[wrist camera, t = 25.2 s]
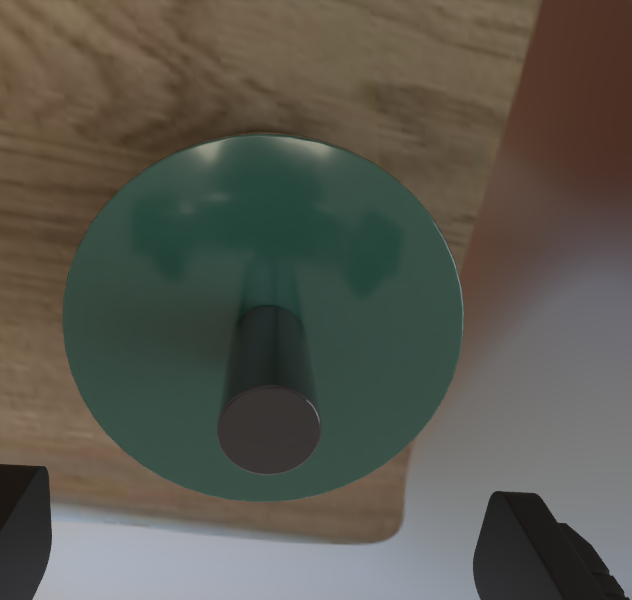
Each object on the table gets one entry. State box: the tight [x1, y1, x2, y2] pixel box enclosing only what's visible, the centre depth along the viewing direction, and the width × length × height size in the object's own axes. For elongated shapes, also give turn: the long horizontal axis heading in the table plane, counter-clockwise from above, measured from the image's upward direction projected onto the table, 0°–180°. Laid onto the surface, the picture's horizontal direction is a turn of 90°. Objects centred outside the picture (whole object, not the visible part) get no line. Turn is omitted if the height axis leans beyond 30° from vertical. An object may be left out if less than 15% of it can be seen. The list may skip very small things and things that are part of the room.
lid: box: [62, 132, 464, 502], centre depth 16 cm, size 12×12×6 cm
